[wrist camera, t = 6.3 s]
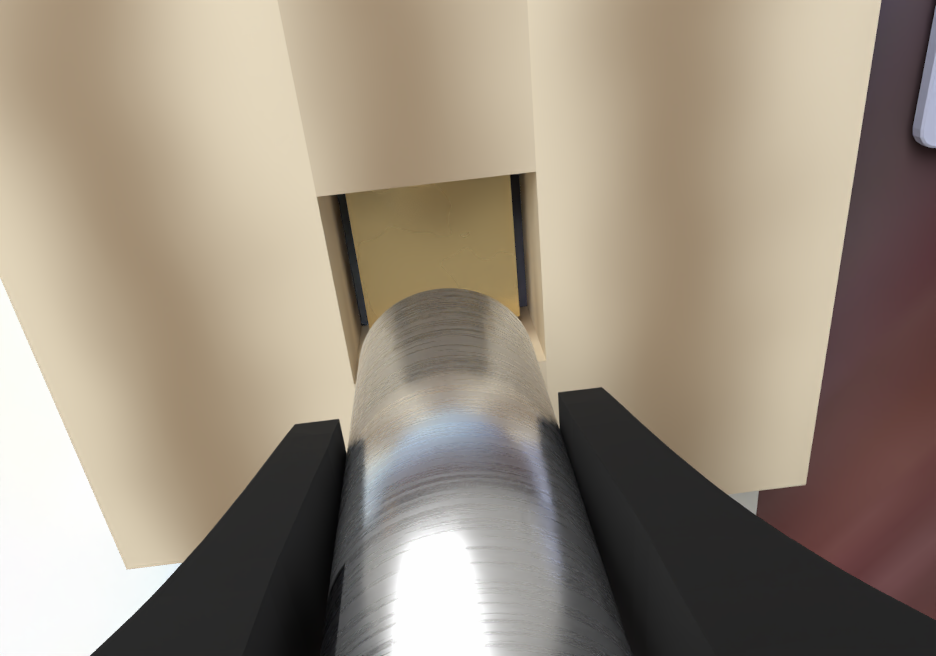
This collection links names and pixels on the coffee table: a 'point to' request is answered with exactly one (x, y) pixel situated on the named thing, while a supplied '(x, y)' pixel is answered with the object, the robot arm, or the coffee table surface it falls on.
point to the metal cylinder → (461, 498)
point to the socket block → (408, 164)
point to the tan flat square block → (435, 241)
